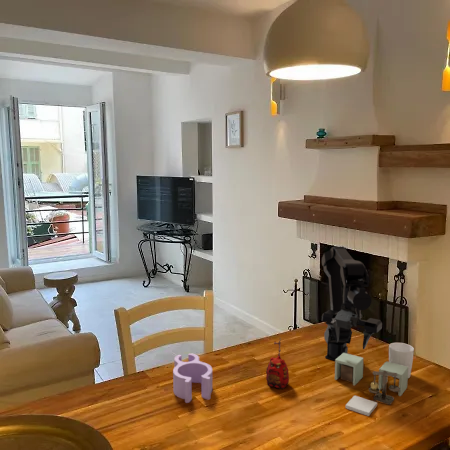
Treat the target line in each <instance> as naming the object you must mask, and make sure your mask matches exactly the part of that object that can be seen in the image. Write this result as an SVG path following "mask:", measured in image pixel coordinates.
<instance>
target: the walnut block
mask: <svg viewBox="0 0 450 450" xmlns="http://www.w3.org/2000/svg"><path fill="white" fill-rule="evenodd" d="M340 380H343V381H346V382H349V383H353V367H352V366H348V365H344V364H342V365H341V376H340Z"/></svg>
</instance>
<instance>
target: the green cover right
mask: <svg viewBox="0 0 450 450" xmlns="http://www.w3.org/2000/svg"><path fill="white" fill-rule="evenodd" d="M383 371H386V372H390V373H397V376H398V377H399V380H398V387H399V388H400V391H399V392H398V396H399V397H401V396H403V393H404V392H405V391H406V390H407V389H408V379H409V378H408V367H407V366H403V365H399V364H395V363H391V362H389V361H387V360H386V361H385V362H384V363H383V364H382V365H381V366H380V367H379V369H378V372H383ZM388 379H389V376H387V382H388ZM382 381H383V375H378V389H379V390H380V391H382Z"/></svg>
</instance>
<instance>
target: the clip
mask: <svg viewBox="0 0 450 450" xmlns="http://www.w3.org/2000/svg"><path fill="white" fill-rule="evenodd" d="M187 355H188V361H183V359H182V357H183V356H182V354H177V355H175V356H174V360H173V361H174V364H173V365H174V367H173V370H172V376H173V378H172V379H173V380H172V381H173V383H172V384H173V395H175V397H178V398H179V399H182V400H184V402H185V403H186V404H188V403H191V401H192V397H193V395H192V393H193V392H192V387H193V386H192V385H193V384H192V383H195V384H197V383H198V384H200V385H201V386H200V387H201V398H202V399H205V400H210V399H212V398H211V395H212V392H213V367H212V366H211V365H210V364H209V363H206V362H204V361H200V356H199V355H197V354H195V353H192V352H191V353H188V354H187Z"/></svg>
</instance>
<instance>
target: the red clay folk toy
mask: <svg viewBox="0 0 450 450" xmlns="http://www.w3.org/2000/svg"><path fill="white" fill-rule="evenodd" d="M281 341H282V338H281V337H279V340H278V342H277V341H276V340H275V341H274V342H273V344H274V345H278V353H277V357H273V356H272V357H270V359H269V363H268V365H267V366H266V371H265V373H266V375H265V376H266V377H265V379H266V383H267V385H268V386H269V387H272V388H276V389H279V390H280V389H281V390H283V389H286V387H287V386H288V384H289V383H290V378H289V377H290V376H289V373H290V372H289V368H288V366H287V363H286V362H285V360H284V359H282V357H281V352H282V351H281V343H282V342H281Z"/></svg>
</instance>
